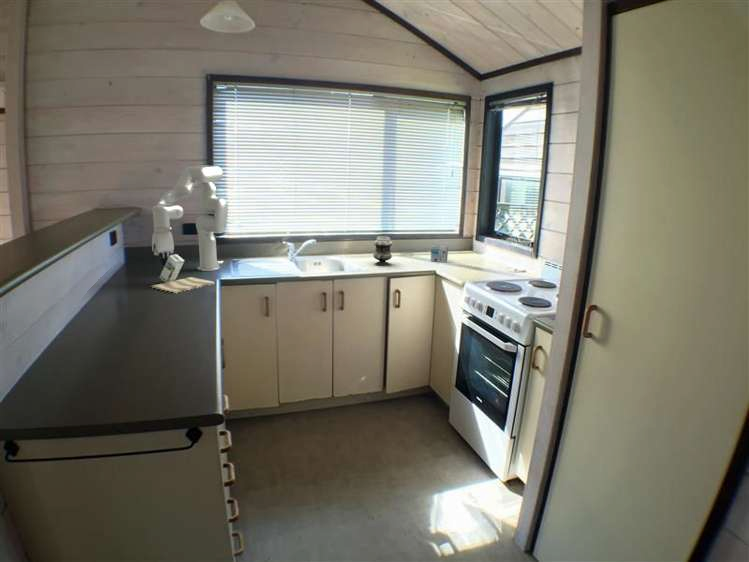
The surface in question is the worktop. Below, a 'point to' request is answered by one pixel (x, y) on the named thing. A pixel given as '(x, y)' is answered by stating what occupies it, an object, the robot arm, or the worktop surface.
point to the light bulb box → (439, 253)
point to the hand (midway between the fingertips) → (164, 265)
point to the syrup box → (172, 268)
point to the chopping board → (183, 284)
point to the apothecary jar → (382, 250)
